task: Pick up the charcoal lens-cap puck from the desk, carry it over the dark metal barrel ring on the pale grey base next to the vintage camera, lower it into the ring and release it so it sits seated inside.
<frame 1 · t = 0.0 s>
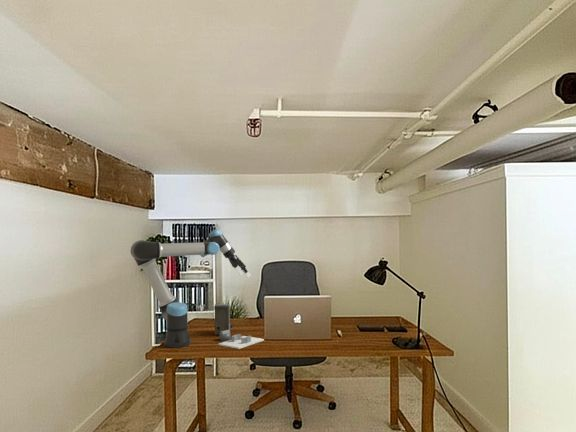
hand: (245, 275, 286), 36 cm above the table, tool tilted 35°, fingers open, 13 cm apart
lens cap: (225, 340, 260), on the table
barrel stand: (241, 342, 252), on the table
vintage camera: (224, 333, 278), on the table
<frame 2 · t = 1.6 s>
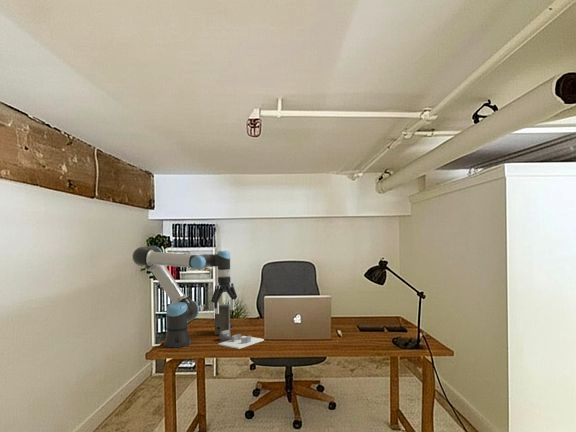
hand: (224, 311, 261), 17 cm above the table, tool pointing down, fingers open, 13 cm apart
nothing on the table moved.
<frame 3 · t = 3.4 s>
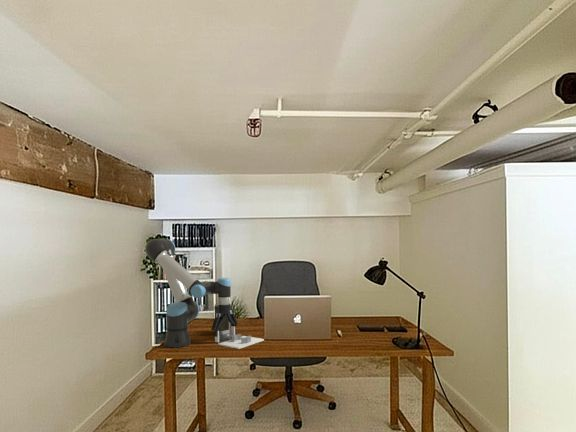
hand: (225, 339, 260), 0 cm above the table, tool pointing down, fingers open, 13 cm apart
nothing on the table moved.
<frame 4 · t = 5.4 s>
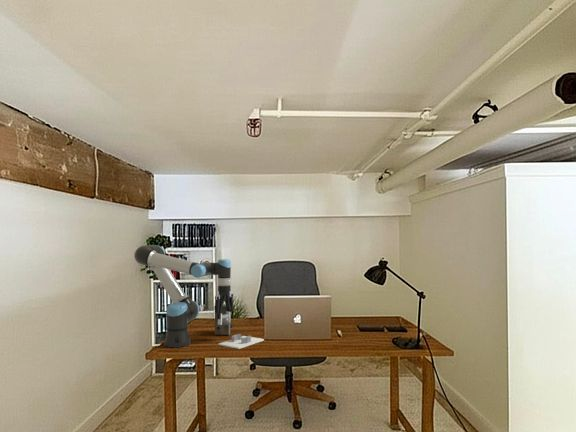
hand: (224, 323, 260), 10 cm above the table, tool pointing down, fingers closed on lens cap, 6 cm apart
lens cap: (224, 324, 260), point 9 cm above the table, touching gripper
everything else where it was.
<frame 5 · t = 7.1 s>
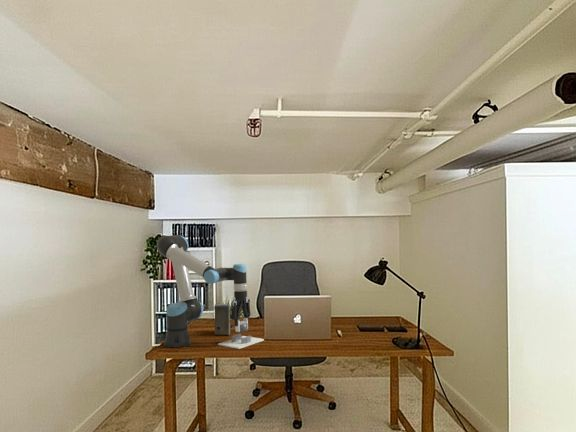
hand: (241, 330, 253), 7 cm above the table, tool pointing down, fingers closed on lens cap, 6 cm apart
lens cap: (242, 330, 252), point 7 cm above the table, touching gripper
everything else where it was.
when the fingers open (1 cm above the table, at t = 9.0 s): lens cap stays where it is, resting on barrel stand.
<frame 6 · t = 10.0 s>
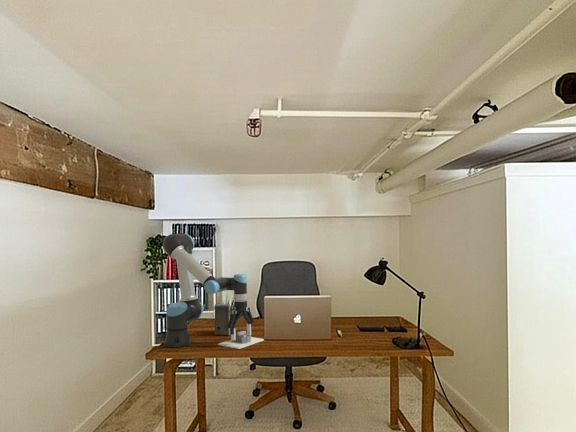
hand: (241, 337, 253), 3 cm above the table, tool pointing down, fingers open, 13 cm apart
lens cap: (241, 341, 252), point 1 cm above the table, touching barrel stand
everything else where it was.
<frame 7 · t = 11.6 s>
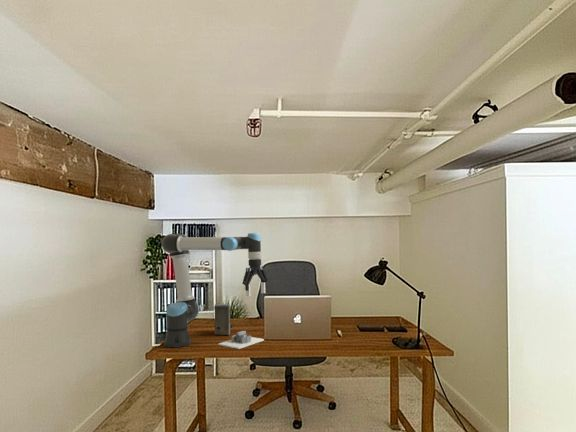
hand: (255, 294, 258), 27 cm above the table, tool pointing down, fingers open, 13 cm apart
nothing on the table moved.
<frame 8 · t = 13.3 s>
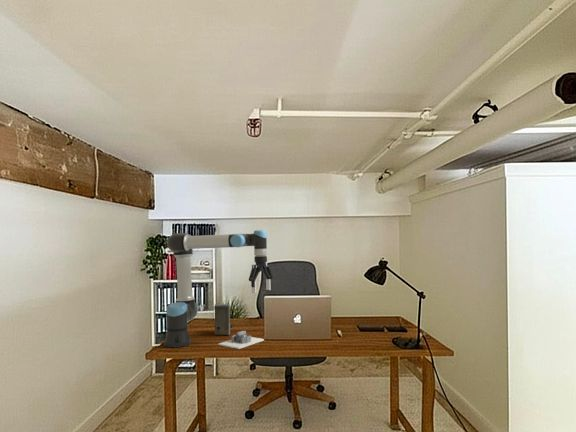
hand: (261, 291, 260), 29 cm above the table, tool pointing down, fingers open, 13 cm apart
nothing on the table moved.
at the end: lens cap 0.2 cm off-centre on the barrel stand, point 0.8 cm above the barrel stand's base; lens cap tilted 0°; the gripper is holding nothing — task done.
